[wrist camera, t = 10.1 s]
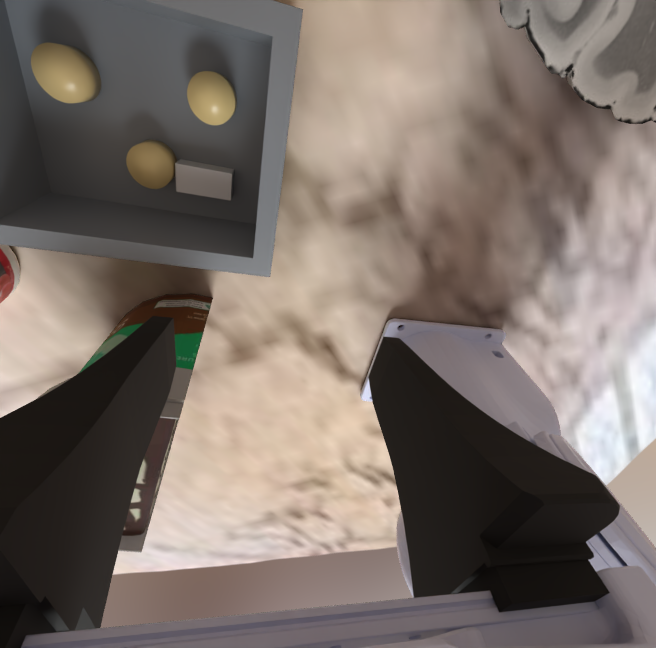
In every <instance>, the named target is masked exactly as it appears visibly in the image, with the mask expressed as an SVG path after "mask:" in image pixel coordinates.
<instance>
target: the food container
mask: <svg viewBox="0 0 656 648" xmlns="http://www.w3.org/2000/svg"><path fill="white" fill-rule="evenodd" d="M212 299H213V298H211V297H206V296H201V295H196V294H171V295H164V296H160V297H157V298H154V299H151V300H147V301H144V302H142V303H141V304H140V305H138V306H137V307H135V308H134V309H133V310H131V311H130V312H129V313H127V314H126V315H125V317H124V318H123V319H122V320H121V321H120V323H119V324H118V325H117V326H116V328H115V329H114V330H113V331H112V333H111V334H110V335H109V336H108V338H107V339H106V340H105V341H104V343H103V344H102V345H101V346H100V347H99V349H98V350H97V351H96V352H95V354H94V355H93V356H92V357H91V359H90V360H89V361H88V362H87V364H86V365H85V366H84V367H83V368H82V370H81V371H83V370H84V369H86V368H87V367H89V366H90V365H91V364H93V363H94V362H96V361H97V360H98V359H100V358H101V357H102V356H104V355H105V354H106V353H108V352H109V351H110V350H112V349H113V348H114V347H115V346H117V345H118V344H119V343H120V342H122V341H123V340H124V339H125V338H127V337H128V336H129V335H130V334H131V333H133V332H134V331H135V330H136V329H137V328H139V327H140V326H141V325H142V324H143V323H145V322H146V321H147V320H148V319H149V318H151V317H152V316H160V317H171V318H174V333H175V350H176V369H175V373H174V378H173V382H172V385H171V389H170V393H169V396H168V398H167V401H166V403H165V406H164V408H163V411H162V413H161V416H160V418H159V421H158V424H157V426H156V429H155V431H154V434H153V436H152V439H151V441H150V444H149V446H148V449H147V451H146V454H145V456H144V459H143V462H142V465H141V468H140V471H139V475H138V478H137V482H136V486H135V489H134V493H133V496H132V500H131V504H130V507H129V511H128V515H127V519H126V522H125V526H124V530H123V534H122V538H121V542H120V546H119V550H118V551H127V552H142V548H143V544H144V541H145V537H146V534H147V530H148V527H149V523H150V519H151V516H152V512H153V509H154V505H155V502H156V498H157V495H158V491H159V487H160V484H161V480H162V477H163V473H164V470H165V466H166V462H167V459H168V455H169V452H170V448H171V445H172V441H173V437H174V434H175V430H176V427H177V423H178V420H179V418H180V414H181V411H182V407H183V404H184V400H185V396H186V393H187V389H188V386H189V382H190V379H191V375H192V371H193V368H194V364H195V360H196V357H197V353H198V350H199V346H200V342H201V339H202V335H203V332H204V328H205V324H206V321H207V317H208V314H209V310H210V306H211V303H212ZM81 371H80V372H81ZM80 372H79V373H80ZM79 373H78V374H79ZM70 379H71V378H70ZM70 379H68V380H70ZM68 380H66V381H68ZM66 381H64V382H62V383H60V384H58V385H56V386H54V387H52V388H50V389H49V390H47V391H46V392H45V393H43V394H42V395H41V396H43V395H45V394H47V393H48V392H50V391H52V390H53V389H55V388H57V387H58V386H60V385H62V384H63V383H65V382H66ZM41 396H40V397H41ZM40 397H38V398H40ZM38 398H37V399H38Z"/></svg>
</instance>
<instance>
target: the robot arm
mask: <svg viewBox="0 0 656 648" xmlns="http://www.w3.org/2000/svg"><path fill="white" fill-rule="evenodd" d="M400 325H402V327H400V328H398V326H400ZM487 334H488V335H487ZM505 337H506V333H505V332H504V331H503V330H501V329H492V328H482V327H472V326H463V325H453V324H443V323H434V322H424V321H414V320H404V319H390V320H389V321H388V322H387V323H386V326H385V328H384V331H383V334H382V337H381V339H380V342H379V345H378V347H377V350H376V353H375V356H374V358H373V361H372V364H371V366H370V369H369V372H368V375H367V377H366V380H365V383H364V385H363V388H362V391H361V394H360V396H361V399H362V400H363V401H373V405H374V408H375V411H376V414H377V418H378V421H379V424H380V427H381V430H382V433H383V436H384V439H385V443H386V446H387V449H388V452H389V455H390V459H391V462H392V466H393V470H394V475H395V480H396V484H397V489H398V494H399V500H400V505H401V512H400V514H399V517H398V521H397V551H398V557H399V561H400V565H401V569H402V572H403V575H404V578H405V581H406V583H407V586H408V588H409V590H410V592H411V594H412V596H413V598H408V599H398V600H387V601H377V602H366V603H356V604H347V605H335V606H325V607H315V608H304V609H295V610H285V611H273V612H263V613H252V614H242V615H232V616H221V617H212V618H201V619H191V620H180V621H170V622H159V623H149V624H139V625H129V626H119V627H108V628H100V626H101V622H102V617H103V612H104V609H105V604H106V600H107V596H108V591H109V587H110V583H111V578H112V574H113V570H114V566H115V562H116V558H117V554H118V550H119V546H120V542H121V538H122V534H123V530H124V526H125V522H126V519H127V515H128V511H129V507H130V504H131V500H132V496H133V493H134V489H135V486H136V482H137V478H138V475H139V471H140V468H141V465H142V462H143V459H144V456H145V454H146V451H147V449H148V446H149V444H150V441H151V439H152V436H153V434H154V431H155V429H156V426H157V424H158V421H159V418H160V416H161V413H162V411H163V408H164V406H165V403H166V401H167V398H168V396H169V393H170V389H171V385H172V382H173V378H174V373H175V369H176V350H175V333H174V318H171V317H160V316H152V317H151V318H149V319H148V320H147V321H146V322H145V323H143V324H142V325H141V326H140V327H139V328H137V329H136V330H135V331H134V332H133V333H131V334H130V335H129V336H128V337H127V338H125V339H124V340H123V341H122V342H120V343H119V344H118V345H117V346H115V347H114V348H113V349H112V350H110V351H109V352H108V353H106V354H105V355H104V356H102V357H101V358H100V359H98V360H97V361H96V362H94V363H93V364H91V365H90V366H89V367H87V368H86V369H84V370H83V371H81V372H80V373H79V374H77V375H76V376H74V377H73V378H71V379H70V380H68V381H66V382H65V383H63V384H62V385H60V386H58V387H57V388H55V389H53V390H52V391H50V392H48V393H47V394H45V395H43V396H41V397H40V398H38V399H36V400H34V401H32V402H30V403H28V404H26V405H25V406H23V407H21V408H19V409H17V410H15V411H13V412H11V413H9V414H7V415H5V416H3V417H1V418H0V648H656V548H655V546H654V545H653V544H652V542H651V541H650V540H649V538H648V537H647V536H646V534H645V533H644V532H643V531H642V530H641V528H640V527H639V526H638V524H637V523H636V522H635V521H634V519H633V518H632V517H631V516H630V514H629V513H628V512H627V511H626V510H625V508H624V507H623V506H622V504H621V503H620V502H619V501H618V500H617V499H616V497H615V496H614V495H613V494H612V492H611V491H610V490H609V489H608V488H607V486H606V485H605V484H604V483H603V482H602V480H601V479H600V478H599V477H598V476H597V474H596V473H595V472H594V471H593V470H592V469H591V467H590V466H589V465H588V464H587V463H586V462H585V461H584V459H583V458H582V457H581V456H580V455H579V454H578V453H577V451H576V450H575V449H574V448H573V447H572V446H571V445H570V444H569V443H568V442H567V441H566V440H565V439H564V438H563V437H562V436H561V432H560V425H559V421H558V417H557V414H556V412H555V410H554V407H553V406H552V404H551V402H550V401H549V399H548V398H547V397H546V395H545V394H544V393H543V392H542V391H541V390H540V388H539V387H538V386H537V385H536V384H535V383H534V381H533V380H532V379H531V378H530V377H529V376H528V374H527V373H526V372H525V371H524V370H523V369H522V367H521V366H520V365H519V364H518V363H517V362H516V361H515V359H514V358H513V357H512V356H511V355H510V354H509V352H508V351H507V350H506V349H505V348H504V347H503V345H502V342H503V341H504V339H505Z"/></svg>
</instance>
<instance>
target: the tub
mask: <svg viewBox="0 0 656 648" xmlns="http://www.w3.org/2000/svg"><path fill="white" fill-rule="evenodd" d="M302 13H303V9H300V8H296V7H293V6H290V5H287V4H283V3H280V2H277V1H273V0H0V244H1V245H10V246H18V247H26V248H34V249H42V250H51V251H59V252H67V253H75V254H84V255H92V256H100V257H108V258H116V259H125V260H133V261H141V262H149V263H158V264H166V265H174V266H182V267H190V268H199V269H207V270H215V271H223V272H232V273H240V274H248V275H256V276H264V277H270V274H271V266H272V258H273V250H274V241H275V233H276V225H277V217H278V209H279V201H280V192H281V184H282V176H283V168H284V160H285V152H286V143H287V135H288V127H289V119H290V111H291V103H292V94H293V86H294V78H295V70H296V62H297V53H298V45H299V37H300V29H301V21H302Z"/></svg>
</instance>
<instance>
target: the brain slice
mask: <svg viewBox="0 0 656 648" xmlns="http://www.w3.org/2000/svg"><path fill="white" fill-rule="evenodd" d="M499 1H500V13H501V15H502V17H503V18H504V20H505V22H506V24H507V26H508V27H510V28H514V29H520V28H522V27H524V30H525V34H526V37H527V39H528V40H529V42H530V43H531V45H532V46H533V48H534V49H535V51H536V52H537V54H538V55H539V57H540V58H541V60H542V61H543V63H544V64H545V66H546V67H547V69H548V70H549V71H550V72H551V73H553V74H558V75H559V76H561V77H562V78H565V77H567V81H568V84H569V85H570V86H571V87H572V88H573V90H574V91H575V92H576V93H577V94H578V96H579V97H580V98H581V99H582V100H583V101H585V102H587V103H589V104H591V105H593V106H595V107H597V108H604V109H611V110H612V112H613V115H614V117H615V119H616V120H618V121H621V122H625V123H629V124H643V123H645V122H648V121H650V120H652V121H654V122H656V0H499Z"/></svg>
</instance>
